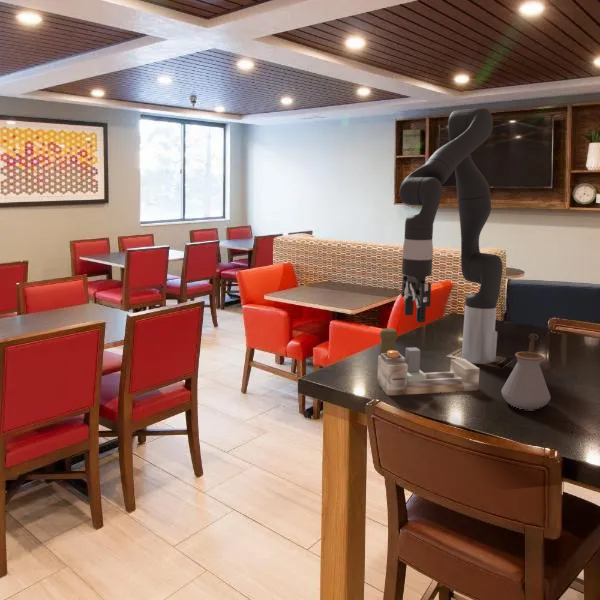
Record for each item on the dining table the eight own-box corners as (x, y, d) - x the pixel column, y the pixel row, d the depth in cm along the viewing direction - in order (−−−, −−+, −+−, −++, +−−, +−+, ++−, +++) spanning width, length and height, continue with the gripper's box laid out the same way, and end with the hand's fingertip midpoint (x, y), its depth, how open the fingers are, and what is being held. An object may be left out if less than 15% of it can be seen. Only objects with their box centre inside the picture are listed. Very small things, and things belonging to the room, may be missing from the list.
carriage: (415, 371, 163) (416, 344, 162) (426, 380, 156) (427, 353, 154) (397, 372, 163) (398, 345, 161) (408, 381, 155) (409, 353, 153)
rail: (462, 379, 167) (465, 347, 165) (478, 391, 158) (481, 357, 156) (377, 384, 163) (378, 351, 161) (388, 396, 153) (390, 361, 152)
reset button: (396, 357, 159) (396, 350, 158) (400, 360, 156) (400, 353, 156) (385, 357, 158) (385, 350, 158) (389, 361, 155) (389, 353, 155)
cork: (397, 368, 177) (398, 332, 174) (376, 366, 178) (377, 330, 176) (398, 362, 182) (399, 327, 180) (378, 360, 184) (379, 326, 181)
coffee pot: (548, 416, 141) (554, 355, 138) (497, 408, 146) (502, 349, 143) (551, 389, 160) (557, 334, 157) (507, 382, 165) (511, 330, 162)
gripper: (442, 260, 147) (438, 324, 150) (420, 253, 160) (417, 312, 164) (413, 260, 145) (410, 325, 149) (394, 253, 159) (391, 312, 162)
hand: (414, 318), depth 156 cm, fingers open, 8 cm apart
